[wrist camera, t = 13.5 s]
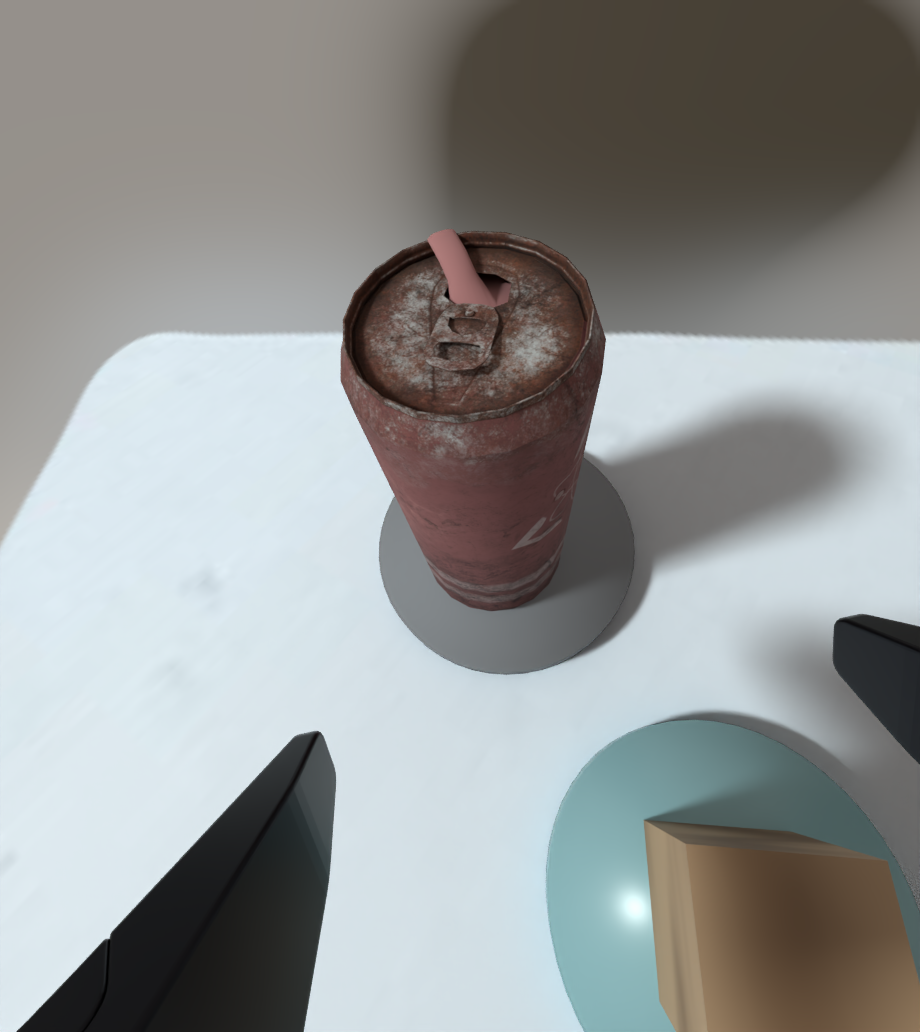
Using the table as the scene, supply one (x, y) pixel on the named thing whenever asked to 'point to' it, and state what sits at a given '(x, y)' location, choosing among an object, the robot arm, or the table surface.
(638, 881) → the teal mat
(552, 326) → the can
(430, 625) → the charcoal mat
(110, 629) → the table surface
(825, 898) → the walnut block
